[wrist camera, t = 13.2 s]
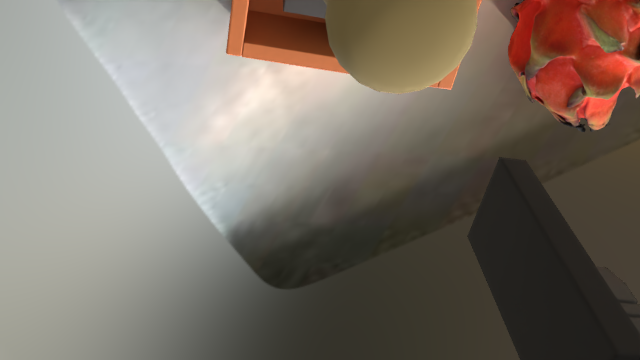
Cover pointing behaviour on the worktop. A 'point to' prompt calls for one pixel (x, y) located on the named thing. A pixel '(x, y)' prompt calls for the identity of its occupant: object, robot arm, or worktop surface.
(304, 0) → the grey block
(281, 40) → the crate
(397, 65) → the cork
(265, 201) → the worktop surface
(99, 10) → the worktop surface
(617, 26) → the dragon fruit
